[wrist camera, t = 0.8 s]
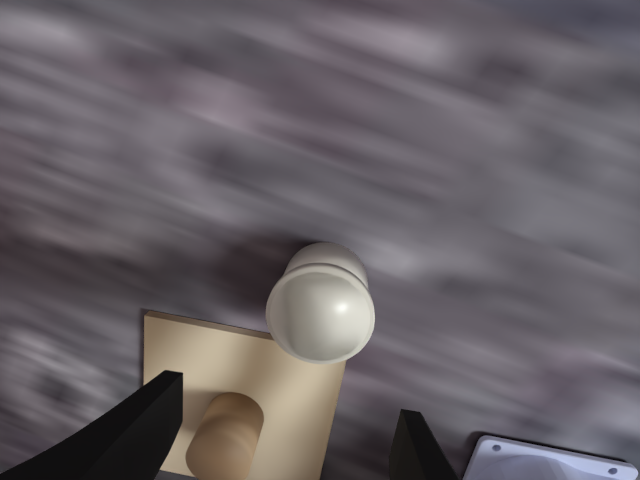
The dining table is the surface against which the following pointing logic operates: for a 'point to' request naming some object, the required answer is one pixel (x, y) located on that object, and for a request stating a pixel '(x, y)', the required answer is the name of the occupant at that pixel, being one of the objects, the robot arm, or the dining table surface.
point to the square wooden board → (242, 401)
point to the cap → (321, 305)
